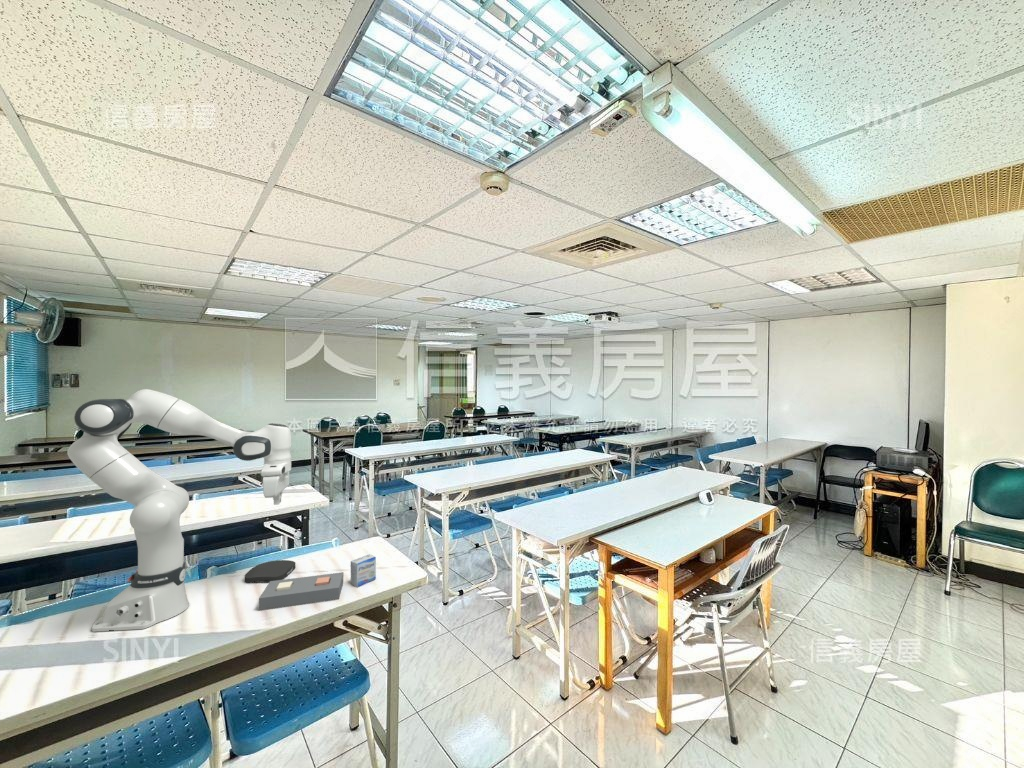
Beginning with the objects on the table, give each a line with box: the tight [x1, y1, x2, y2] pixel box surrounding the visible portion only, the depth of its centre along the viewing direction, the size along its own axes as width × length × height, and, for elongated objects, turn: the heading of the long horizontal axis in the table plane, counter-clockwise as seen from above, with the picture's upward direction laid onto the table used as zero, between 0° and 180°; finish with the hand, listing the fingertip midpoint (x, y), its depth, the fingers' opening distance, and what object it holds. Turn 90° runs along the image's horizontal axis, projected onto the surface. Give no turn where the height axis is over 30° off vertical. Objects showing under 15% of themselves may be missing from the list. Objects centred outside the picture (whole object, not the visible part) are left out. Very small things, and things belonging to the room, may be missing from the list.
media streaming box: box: [244, 559, 296, 584], centre depth 153 cm, size 15×15×3 cm
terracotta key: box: [316, 577, 330, 586], centre depth 138 cm, size 4×4×3 cm
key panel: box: [258, 571, 344, 612], centre depth 136 cm, size 24×12×4 cm, turn 107°
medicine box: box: [350, 553, 377, 588], centre depth 147 cm, size 8×4×9 cm, turn 143°
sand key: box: [276, 581, 293, 591], centre depth 135 cm, size 4×4×3 cm
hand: (277, 503), depth 147 cm, fingers closed
